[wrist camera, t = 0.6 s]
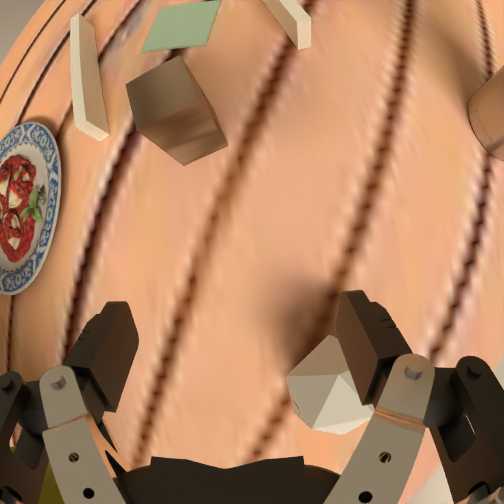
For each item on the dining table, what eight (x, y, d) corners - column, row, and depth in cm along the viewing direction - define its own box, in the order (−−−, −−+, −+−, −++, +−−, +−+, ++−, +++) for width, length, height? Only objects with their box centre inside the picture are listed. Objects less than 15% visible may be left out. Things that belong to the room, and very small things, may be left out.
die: (311, 314, 28) (254, 381, 21) (399, 322, 23) (365, 409, 16) (320, 374, 30) (274, 439, 24) (395, 387, 25) (361, 465, 18)
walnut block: (212, 105, 29) (179, 52, 19) (228, 145, 29) (197, 98, 19) (170, 125, 30) (125, 81, 20) (183, 166, 29) (136, 130, 19)
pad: (220, 2, 29) (220, 0, 29) (205, 46, 29) (205, 44, 29) (162, 9, 31) (161, 7, 30) (142, 52, 31) (141, 51, 30)
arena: (239, -39, 29) (233, -60, 24) (310, 46, 27) (311, 18, 23) (86, 33, 33) (70, 18, 28) (100, 141, 31) (75, 127, 26)
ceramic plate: (-28, 257, 36) (-39, 257, 33) (9, 120, 35) (-2, 116, 32) (46, 324, 32) (31, 328, 29) (98, 136, 31) (84, 128, 28)
